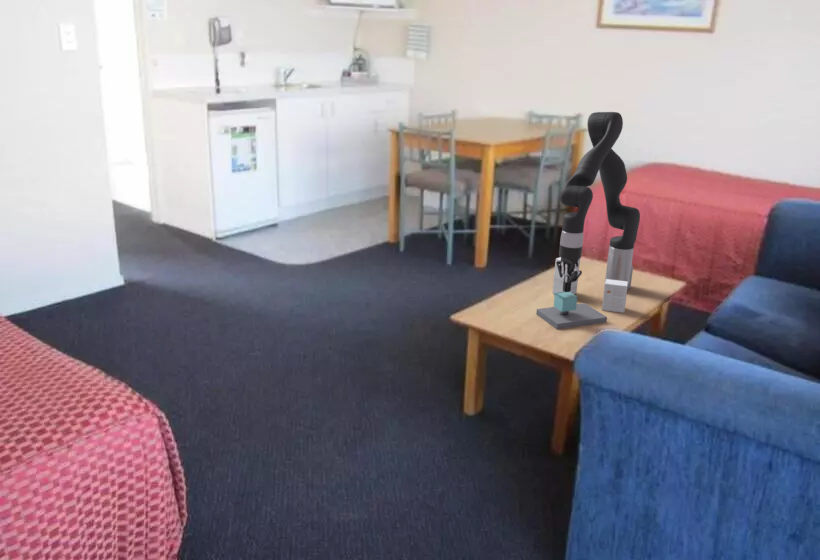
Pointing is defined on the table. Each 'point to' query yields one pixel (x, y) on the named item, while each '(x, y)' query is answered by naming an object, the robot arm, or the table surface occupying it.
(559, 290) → the skincare box
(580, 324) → the board
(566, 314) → the post
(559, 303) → the teal cube
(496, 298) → the table surface
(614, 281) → the small box
